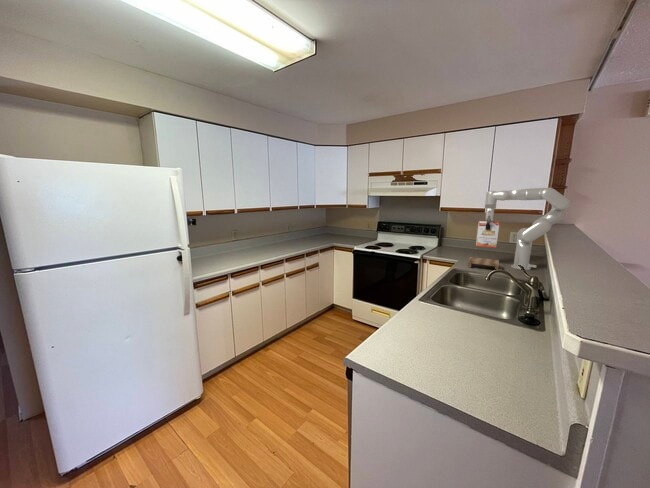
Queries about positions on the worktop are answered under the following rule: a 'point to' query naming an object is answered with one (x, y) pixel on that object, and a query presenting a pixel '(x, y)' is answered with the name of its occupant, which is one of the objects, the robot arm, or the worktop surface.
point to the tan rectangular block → (483, 262)
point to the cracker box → (487, 234)
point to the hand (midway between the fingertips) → (487, 228)
